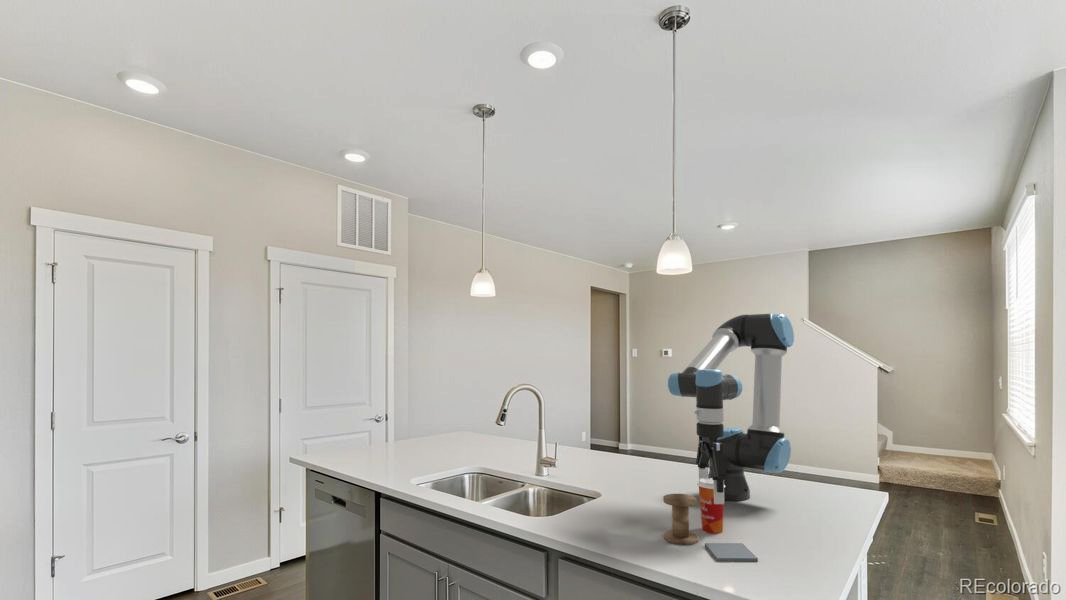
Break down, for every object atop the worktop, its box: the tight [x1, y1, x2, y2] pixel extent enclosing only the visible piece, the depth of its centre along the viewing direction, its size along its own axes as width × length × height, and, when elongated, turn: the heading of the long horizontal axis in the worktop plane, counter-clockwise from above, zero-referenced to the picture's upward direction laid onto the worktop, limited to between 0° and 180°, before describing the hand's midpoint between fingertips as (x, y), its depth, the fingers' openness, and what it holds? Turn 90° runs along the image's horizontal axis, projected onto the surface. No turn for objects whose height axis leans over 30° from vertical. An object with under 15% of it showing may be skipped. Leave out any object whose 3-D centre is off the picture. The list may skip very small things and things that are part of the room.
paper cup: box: [697, 478, 725, 535], centre depth 156 cm, size 8×8×14 cm
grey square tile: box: [704, 542, 759, 563], centre depth 138 cm, size 10×10×1 cm
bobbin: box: [662, 493, 699, 546], centre depth 149 cm, size 9×9×11 cm
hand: (711, 497), depth 156 cm, fingers open, 13 cm apart
